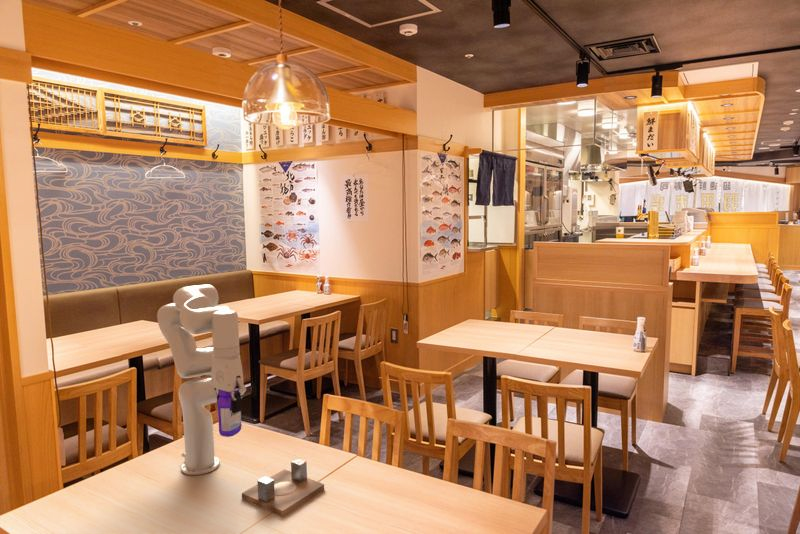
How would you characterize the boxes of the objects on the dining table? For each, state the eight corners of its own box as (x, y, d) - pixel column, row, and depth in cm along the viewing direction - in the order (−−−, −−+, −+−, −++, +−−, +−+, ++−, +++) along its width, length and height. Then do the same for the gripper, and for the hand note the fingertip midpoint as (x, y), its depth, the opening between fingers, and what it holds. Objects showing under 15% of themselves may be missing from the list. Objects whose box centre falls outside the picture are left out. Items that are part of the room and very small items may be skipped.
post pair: (258, 499, 164) (257, 480, 163) (298, 475, 178) (297, 458, 177) (267, 503, 162) (266, 484, 161) (307, 478, 176) (306, 461, 175)
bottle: (232, 439, 160) (229, 382, 158) (215, 437, 161) (212, 381, 159) (245, 429, 167) (242, 374, 165) (228, 427, 168) (225, 373, 166)
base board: (241, 499, 168) (241, 492, 167) (284, 474, 182) (284, 468, 182) (282, 517, 158) (282, 510, 157) (324, 490, 172) (324, 483, 172)
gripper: (198, 350, 163) (201, 407, 165) (234, 359, 153) (237, 419, 155) (219, 344, 169) (222, 400, 171) (255, 353, 159) (258, 411, 161)
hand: (229, 408), depth 163 cm, fingers closed on bottle, 6 cm apart
